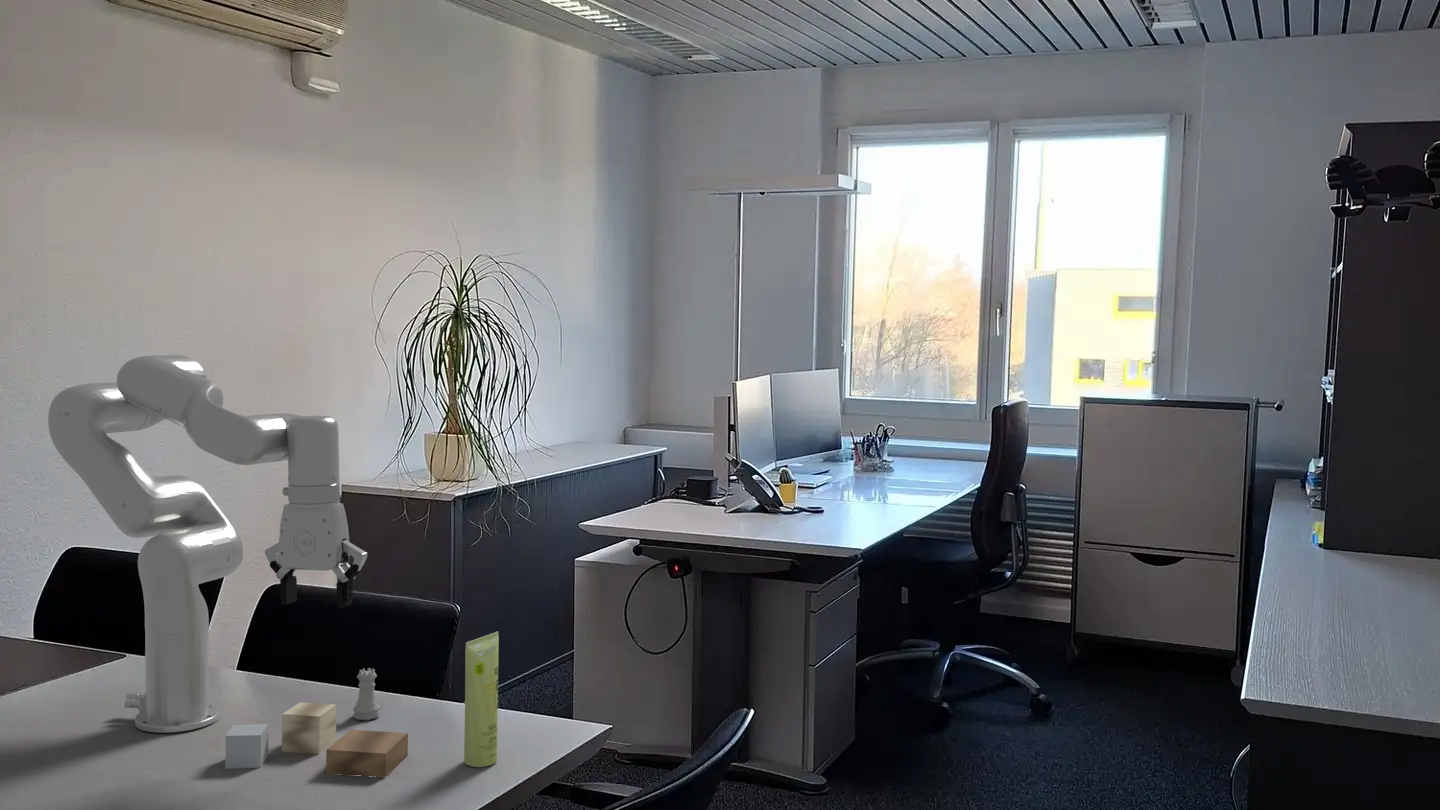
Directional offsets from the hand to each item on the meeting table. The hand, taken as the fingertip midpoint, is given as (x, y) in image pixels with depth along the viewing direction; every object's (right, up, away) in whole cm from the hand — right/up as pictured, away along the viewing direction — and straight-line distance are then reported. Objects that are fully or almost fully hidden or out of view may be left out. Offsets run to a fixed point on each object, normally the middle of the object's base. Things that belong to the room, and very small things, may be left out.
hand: (316, 604), depth 188 cm
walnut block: (+10, -23, -7) cm, 26 cm away
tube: (+26, -23, -5) cm, 36 cm away
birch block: (-1, -22, 0) cm, 22 cm away
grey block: (-8, -23, -7) cm, 25 cm away
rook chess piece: (+3, -22, +15) cm, 26 cm away
